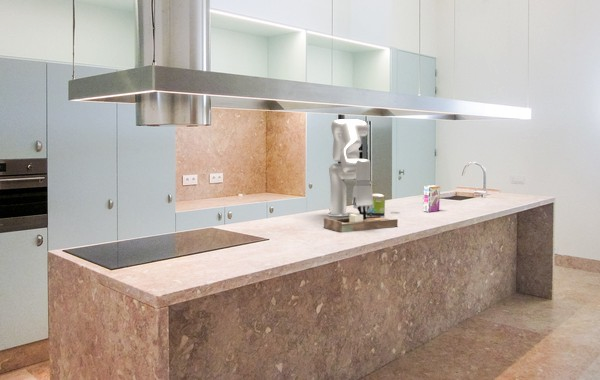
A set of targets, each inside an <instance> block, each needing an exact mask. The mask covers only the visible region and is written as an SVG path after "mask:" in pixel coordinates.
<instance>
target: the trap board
mask: <svg viewBox="0 0 600 380" xmlns="http://www.w3.org/2000/svg"><path fill="white" fill-rule="evenodd" d="M323 228H324V229H328V230H331V231H334V232H338V233H345V232H346V233H347V232H358V231H369V230H376V229H378V228H379V229H387V228H389V229H390V228H398V219H395V218H394V219H389V218H386V217H385V218H381V216H371V217H366V220H363V222H359V223H349V217H348V218H337V219H335V218H334V219H333V218H332V219H331V218H327V217H324V218H323Z"/></svg>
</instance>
